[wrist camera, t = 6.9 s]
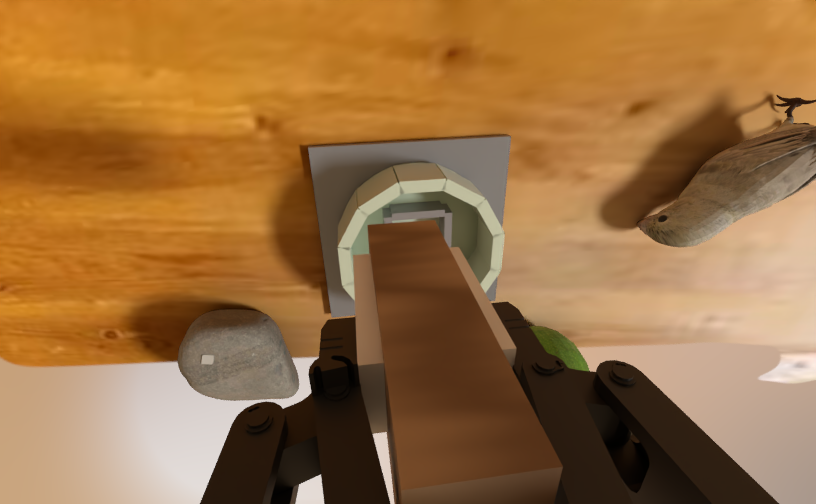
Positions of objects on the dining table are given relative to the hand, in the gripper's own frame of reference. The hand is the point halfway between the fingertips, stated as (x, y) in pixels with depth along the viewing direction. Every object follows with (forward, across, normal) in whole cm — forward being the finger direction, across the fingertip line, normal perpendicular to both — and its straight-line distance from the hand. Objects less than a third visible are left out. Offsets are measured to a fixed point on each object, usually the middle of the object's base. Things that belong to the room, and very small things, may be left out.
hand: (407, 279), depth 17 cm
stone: (+18, -13, -16) cm, 28 cm away
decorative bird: (+18, +31, -2) cm, 36 cm away
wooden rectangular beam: (+2, 0, 0) cm, 2 cm away
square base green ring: (+18, +3, -6) cm, 19 cm away
